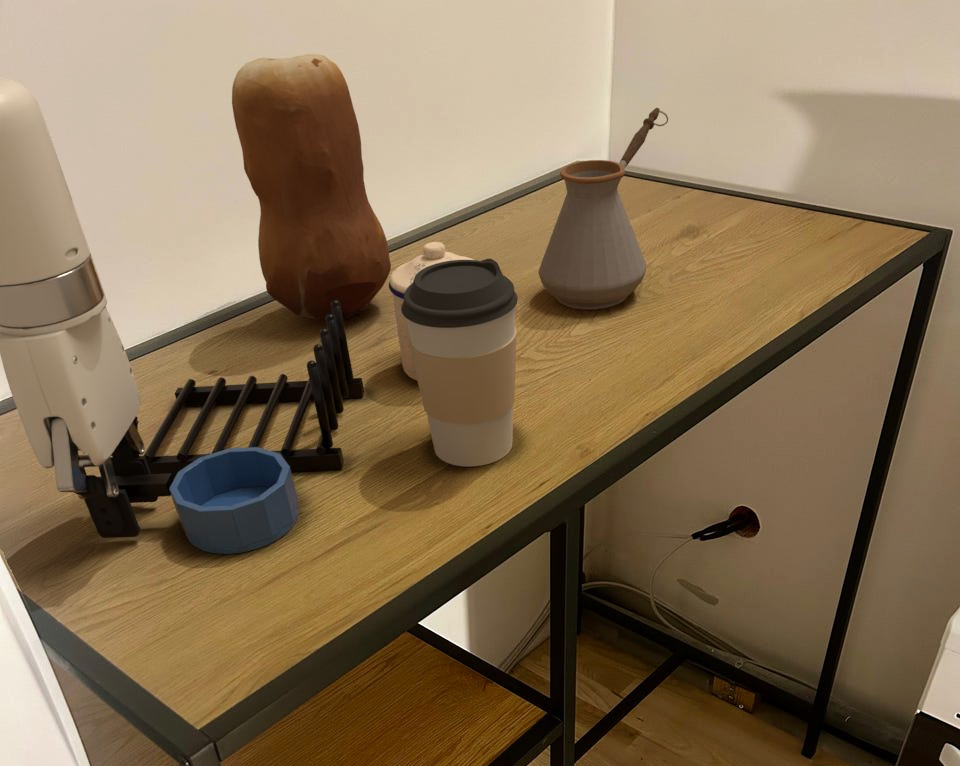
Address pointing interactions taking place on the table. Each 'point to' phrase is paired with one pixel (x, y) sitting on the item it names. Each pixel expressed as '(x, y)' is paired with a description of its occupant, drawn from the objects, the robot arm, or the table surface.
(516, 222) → the table surface
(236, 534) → the saucepan
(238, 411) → the dish rack
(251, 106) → the butternut squash
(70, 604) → the table surface
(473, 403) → the coffee cup
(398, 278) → the teacup with lid
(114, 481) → the robot arm
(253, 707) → the table surface
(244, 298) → the table surface
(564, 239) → the coffee pot
